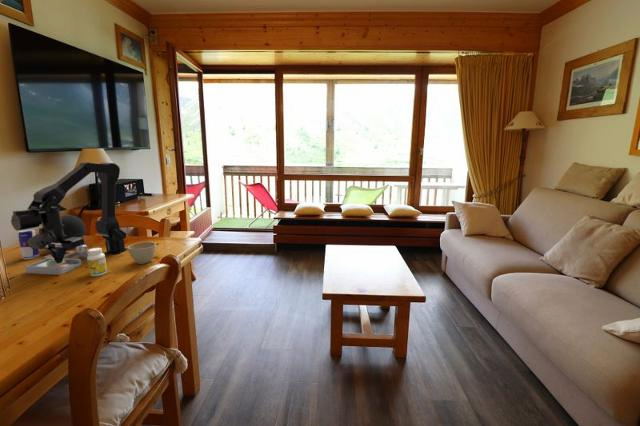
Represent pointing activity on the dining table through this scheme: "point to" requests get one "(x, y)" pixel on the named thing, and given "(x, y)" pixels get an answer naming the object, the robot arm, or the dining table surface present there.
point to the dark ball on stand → (73, 227)
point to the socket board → (67, 255)
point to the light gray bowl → (142, 251)
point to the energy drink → (26, 251)
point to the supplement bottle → (96, 262)
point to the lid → (51, 263)
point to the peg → (82, 251)
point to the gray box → (56, 270)
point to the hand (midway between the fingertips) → (59, 263)
